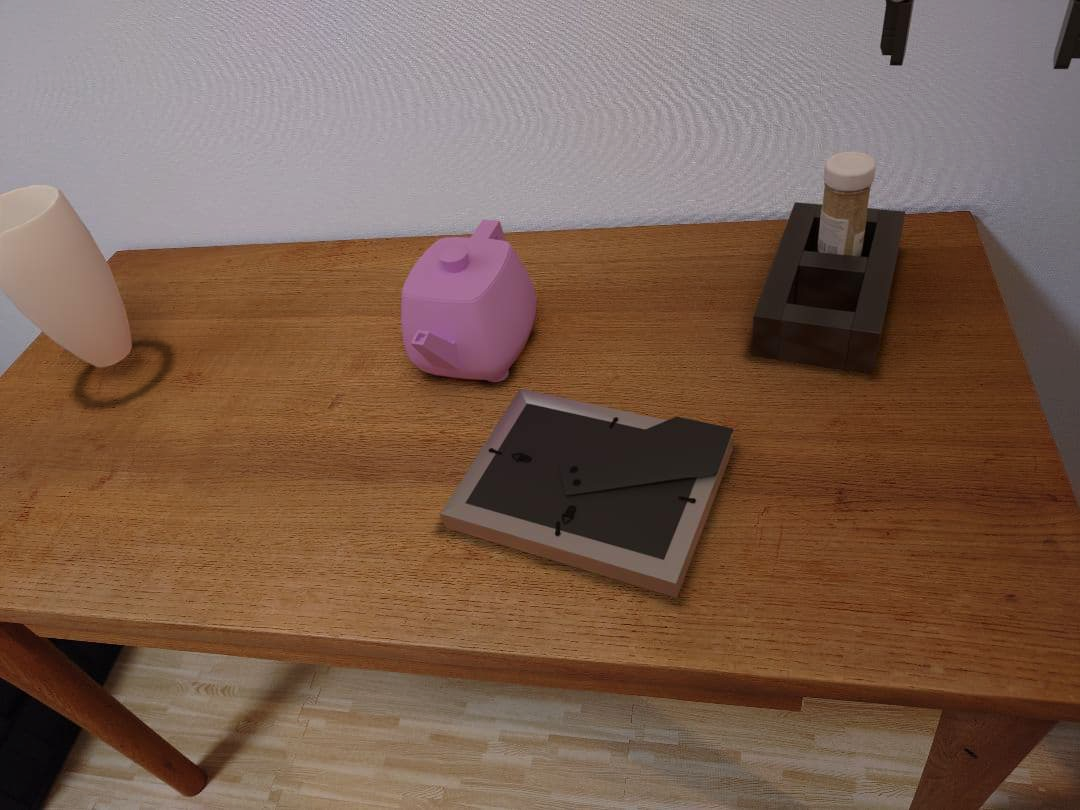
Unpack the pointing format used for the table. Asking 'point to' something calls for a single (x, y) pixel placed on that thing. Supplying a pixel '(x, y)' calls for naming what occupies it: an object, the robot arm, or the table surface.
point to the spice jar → (845, 203)
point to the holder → (827, 294)
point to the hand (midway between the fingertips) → (976, 62)
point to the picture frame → (594, 488)
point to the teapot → (468, 306)
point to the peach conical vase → (60, 275)
